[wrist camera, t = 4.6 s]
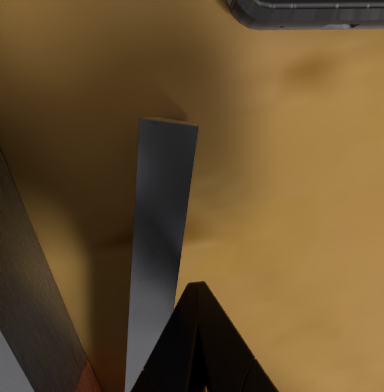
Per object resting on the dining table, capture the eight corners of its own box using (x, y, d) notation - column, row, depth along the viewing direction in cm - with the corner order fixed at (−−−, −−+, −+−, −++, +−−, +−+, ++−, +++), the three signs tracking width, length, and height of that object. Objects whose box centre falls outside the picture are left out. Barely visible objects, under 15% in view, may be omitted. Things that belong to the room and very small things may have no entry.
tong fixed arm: (116, 427, 14) (98, 505, 11) (90, 430, 14) (66, 508, 11) (-16, 107, 8) (-125, 104, 5) (-61, 114, 8) (-192, 114, 5)
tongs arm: (152, 468, 16) (144, 554, 13) (97, 467, 15) (76, 554, 12) (199, 123, 8) (208, 128, 5) (95, 108, 8) (41, 106, 5)
